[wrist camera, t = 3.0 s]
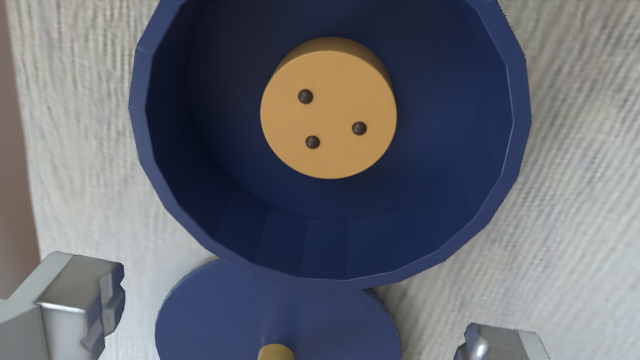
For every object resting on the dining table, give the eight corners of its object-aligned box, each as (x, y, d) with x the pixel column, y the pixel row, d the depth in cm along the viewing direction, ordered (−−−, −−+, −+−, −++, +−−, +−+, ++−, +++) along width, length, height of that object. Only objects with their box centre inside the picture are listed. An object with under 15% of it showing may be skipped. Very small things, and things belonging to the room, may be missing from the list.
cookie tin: (382, -176, 18) (391, -210, 13) (546, 135, 23) (594, 192, 18) (113, 55, 23) (48, 92, 18) (300, 263, 28) (288, 334, 24)
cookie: (348, 9, 21) (346, 21, 18) (416, 115, 23) (423, 139, 20) (244, 83, 23) (230, 104, 20) (317, 174, 25) (312, 203, 22)
